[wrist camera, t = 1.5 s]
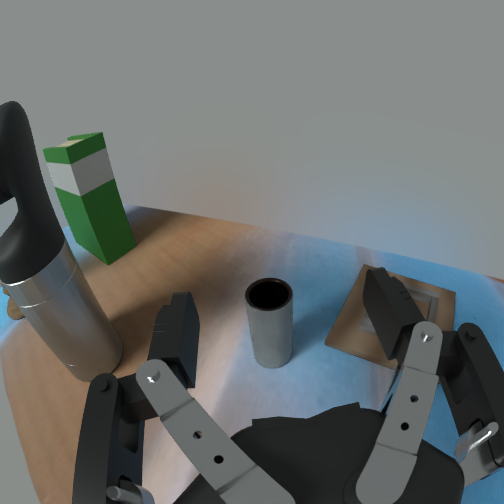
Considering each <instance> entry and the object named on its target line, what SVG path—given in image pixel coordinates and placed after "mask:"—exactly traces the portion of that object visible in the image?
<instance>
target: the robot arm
mask: <svg viewBox="0 0 504 504" xmlns="http://www.w3.org/2000/svg"><path fill="white" fill-rule="evenodd" d="M13 197H15V198H16V202H17V206H18V213H17V215H16V217H15V219H14V221H13V222H12V224H11V225H10V226H9V228H8V229H7V230H6V231H5V232H4V234H3V235H2V236H1V237H0V280H1V281H2V283H3V285H4V286H5V288H6V289H7V291H8V292H9V294H10V296H11V297H12V299H13V300H14V301H15V303H16V304H17V306H18V307H19V309H20V310H21V312H22V313H23V314H24V316H25V317H26V318H27V320H28V321H29V323H30V324H31V325H32V327H33V328H34V329H35V331H36V332H37V333H38V334H39V336H40V337H41V338H42V339H43V341H44V342H45V343H46V344H47V346H48V347H49V348H50V349H51V350H52V352H53V353H54V354H55V355H56V356H57V357H58V359H59V360H60V361H61V362H62V363H63V364H64V365H65V366H66V368H67V369H68V370H69V371H70V372H71V373H72V374H73V375H74V376H75V377H76V378H78V379H79V380H82V381H87V382H91V383H90V386H89V390H88V395H87V399H86V404H85V409H84V414H83V419H82V424H81V430H80V436H79V442H78V449H77V456H76V464H75V473H74V483H73V495H72V504H155V502H154V498H153V496H152V494H151V493H150V492H149V491H148V490H147V489H145V488H143V487H142V462H143V441H144V426H145V420H147V419H151V418H155V417H158V416H159V417H160V420H161V422H162V423H163V425H164V426H165V428H166V429H167V431H168V432H169V434H170V435H171V436H172V438H173V439H174V440H175V442H176V443H177V444H178V446H179V447H180V448H181V450H182V451H183V452H184V454H185V455H186V456H187V457H188V459H189V460H190V461H191V462H192V464H193V465H194V466H195V467H196V469H197V470H198V471H199V472H200V474H199V475H198V476H197V477H196V478H195V480H194V481H193V482H192V483H191V484H190V485H189V486H188V487H187V489H186V490H185V491H184V492H183V493H182V494H181V495H180V496H179V497H178V498H177V500H176V501H175V502H174V503H173V504H461V498H462V494H463V490H464V487H466V486H468V485H470V484H472V483H474V482H476V481H478V480H482V479H484V478H486V477H488V476H490V475H492V474H494V473H496V472H498V471H500V470H502V469H504V372H503V370H502V367H501V365H500V363H499V361H498V360H497V358H496V356H495V354H494V352H493V350H492V348H491V346H490V344H489V343H488V341H487V339H486V337H485V335H484V334H483V332H482V330H481V329H480V328H479V327H478V326H477V325H475V324H473V323H464V324H462V325H461V326H460V327H459V329H458V331H441V329H440V328H439V327H438V326H437V325H436V324H434V323H432V322H428V321H426V320H425V318H424V316H423V315H422V313H421V311H420V310H419V308H418V306H417V305H416V303H415V301H414V300H413V298H412V297H411V295H410V293H409V292H408V290H407V289H406V287H405V286H404V284H403V283H402V282H401V281H400V280H398V279H397V278H396V277H395V276H393V277H390V276H389V274H388V273H387V271H386V270H385V268H383V267H380V268H374V269H368V270H367V273H366V278H365V284H364V290H363V304H364V307H365V309H366V312H367V314H368V316H369V318H370V320H371V322H372V325H373V327H374V329H375V331H376V334H377V336H378V338H379V341H380V343H381V345H382V348H383V350H384V352H385V355H386V357H387V359H388V361H389V360H393V359H397V362H398V364H397V366H396V369H395V372H394V375H393V378H392V381H391V383H390V386H389V389H388V391H387V394H386V397H385V399H384V401H383V403H382V405H381V407H380V409H379V411H376V410H372V409H366V408H360V405H359V402H356V403H352V404H347V405H343V406H338V407H334V408H331V409H329V410H327V411H325V412H322V413H320V414H318V415H316V416H313V417H311V418H307V419H304V418H290V417H270V418H261V419H252V426H250V427H247V428H245V429H242V430H241V431H239V432H237V433H236V434H234V435H233V436H232V437H230V438H229V437H228V436H227V434H226V433H225V432H224V431H223V430H222V429H221V428H220V427H219V426H218V425H217V424H216V422H215V421H214V420H213V419H212V418H211V417H210V416H209V415H208V413H207V412H206V411H205V410H204V409H203V408H202V406H201V405H200V404H199V403H198V402H197V401H196V400H195V399H194V398H193V397H192V396H191V395H190V394H189V393H188V391H187V388H195V380H196V367H197V354H198V342H199V331H200V322H199V316H198V313H197V310H196V307H195V304H194V301H193V298H192V295H191V293H190V292H181V293H174V294H173V296H172V300H171V305H164V306H163V307H162V309H161V310H160V311H159V313H158V314H157V318H156V323H155V324H156V325H155V327H154V333H153V336H152V340H151V345H150V349H149V354H148V358H147V361H146V362H144V363H143V364H142V365H141V366H140V367H139V368H138V370H137V372H136V373H134V374H132V375H129V376H125V377H122V378H118V379H117V378H116V377H115V376H114V375H113V374H110V373H111V372H112V371H113V370H114V369H115V368H116V367H117V365H118V363H119V362H120V359H121V357H122V352H123V344H122V341H121V339H120V337H119V336H118V334H117V333H116V331H115V330H114V328H113V326H112V325H111V323H110V321H109V319H108V318H107V316H106V315H105V313H104V311H103V309H102V308H101V306H100V304H99V302H98V301H97V299H96V297H95V295H94V294H93V292H92V290H91V288H90V286H89V284H88V283H87V281H86V279H85V277H84V275H83V273H82V271H81V269H80V267H79V265H78V263H77V261H76V259H75V257H74V255H73V253H72V251H71V249H70V247H69V244H68V242H67V240H66V238H65V236H64V233H63V231H62V229H61V227H60V225H59V222H58V220H57V217H56V215H55V212H54V209H53V207H52V204H51V202H50V199H49V196H48V193H47V190H46V187H45V184H44V181H43V177H42V174H41V170H40V166H39V163H38V158H37V154H36V149H35V145H34V140H33V136H32V132H31V128H30V125H29V121H28V118H27V115H26V113H25V111H24V109H23V108H22V106H21V105H20V104H19V103H17V102H15V101H10V102H7V103H4V104H2V105H0V205H1V204H3V203H4V202H6V201H8V200H10V199H11V198H13ZM466 369H467V370H466ZM438 377H439V380H440V382H441V385H442V388H443V390H444V393H445V396H446V398H447V401H448V404H449V407H450V409H451V412H452V415H453V418H454V421H455V424H456V427H457V430H458V434H459V438H458V440H457V442H456V450H455V456H456V459H453V458H452V457H450V456H448V455H447V454H445V453H444V452H442V451H440V450H439V449H437V448H436V447H434V446H432V445H431V444H429V443H428V442H426V441H425V440H423V439H422V437H423V434H424V431H425V427H426V424H427V421H428V418H429V414H430V411H431V407H432V404H433V400H434V396H435V392H436V388H437V383H438ZM470 378H471V379H470Z"/></svg>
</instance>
